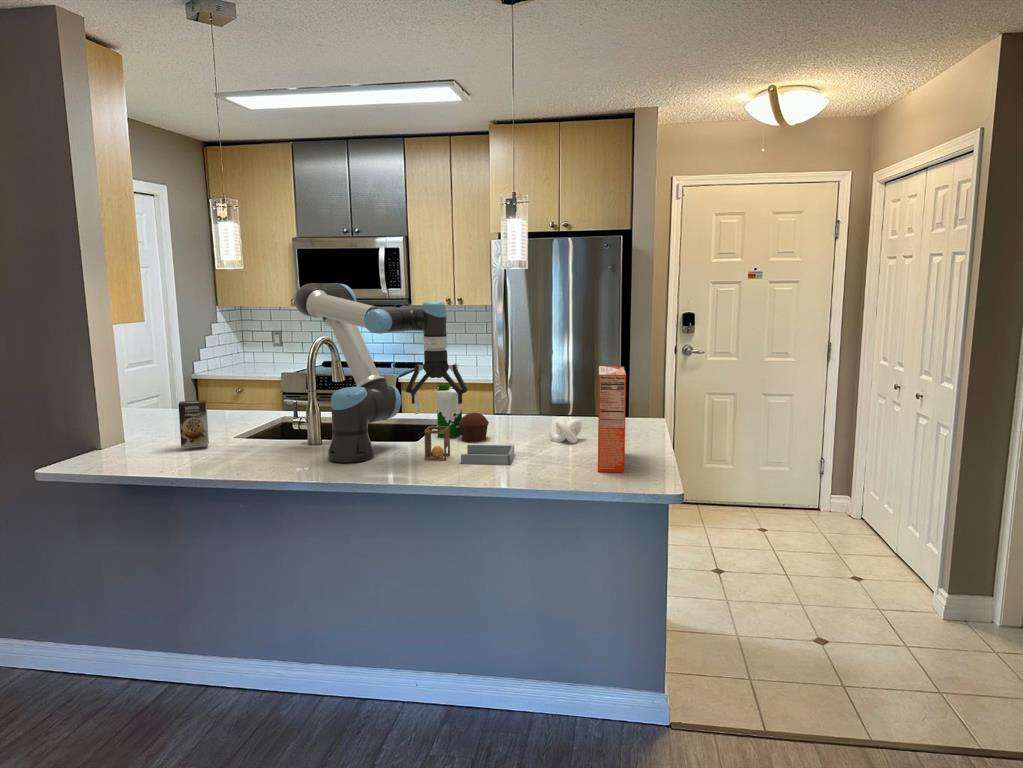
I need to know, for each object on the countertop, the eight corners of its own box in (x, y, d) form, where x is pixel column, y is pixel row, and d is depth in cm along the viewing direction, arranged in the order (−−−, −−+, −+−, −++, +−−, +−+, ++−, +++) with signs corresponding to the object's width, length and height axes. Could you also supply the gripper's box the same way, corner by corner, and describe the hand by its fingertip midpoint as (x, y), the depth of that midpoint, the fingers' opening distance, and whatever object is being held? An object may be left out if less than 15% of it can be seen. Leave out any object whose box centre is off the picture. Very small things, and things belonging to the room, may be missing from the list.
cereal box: (597, 453, 229) (599, 366, 225) (622, 454, 228) (623, 366, 224) (597, 471, 207) (598, 374, 203) (624, 472, 206) (626, 374, 202)
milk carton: (443, 433, 263) (442, 382, 260) (465, 435, 260) (464, 383, 257) (434, 438, 255) (433, 385, 252) (456, 439, 252) (455, 386, 249)
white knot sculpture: (570, 437, 255) (570, 414, 254) (590, 443, 245) (590, 419, 244) (545, 441, 249) (545, 417, 248) (565, 447, 239) (565, 422, 238)
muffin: (484, 444, 245) (484, 417, 243) (455, 442, 247) (454, 416, 246) (492, 437, 256) (491, 411, 255) (463, 436, 258) (463, 410, 257)
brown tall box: (180, 448, 240) (177, 403, 238) (182, 444, 246) (179, 401, 244) (208, 446, 244) (205, 402, 242) (209, 442, 250) (206, 399, 248)
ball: (430, 459, 223) (430, 447, 222) (433, 456, 227) (432, 444, 226) (442, 459, 223) (442, 447, 222) (444, 456, 226) (444, 444, 226)
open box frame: (425, 460, 221) (424, 430, 220) (429, 455, 229) (429, 426, 227) (446, 460, 221) (445, 430, 219) (450, 455, 228) (449, 426, 227)
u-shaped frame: (460, 463, 217) (460, 454, 216) (467, 453, 231) (467, 444, 231) (510, 464, 215) (510, 455, 215) (514, 453, 229) (514, 445, 229)
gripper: (395, 350, 217) (397, 415, 220) (471, 350, 215) (473, 415, 218) (401, 348, 225) (403, 411, 227) (475, 348, 222) (476, 411, 225)
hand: (437, 413), depth 223 cm, fingers open, 13 cm apart
